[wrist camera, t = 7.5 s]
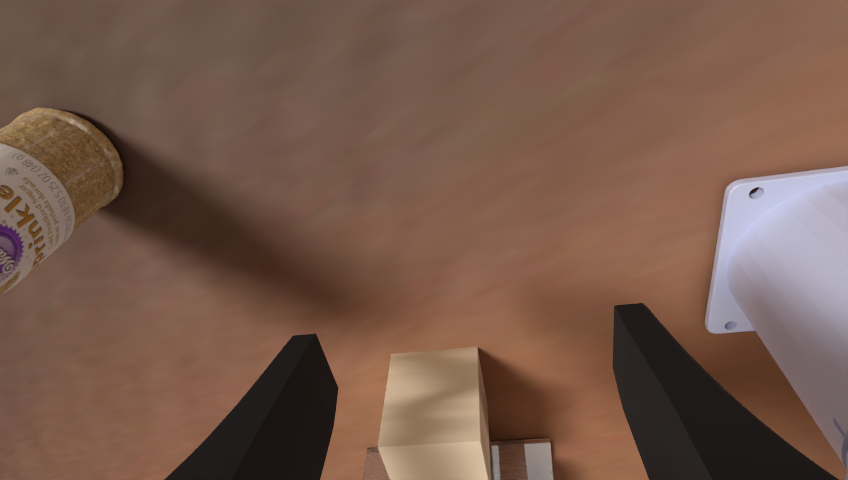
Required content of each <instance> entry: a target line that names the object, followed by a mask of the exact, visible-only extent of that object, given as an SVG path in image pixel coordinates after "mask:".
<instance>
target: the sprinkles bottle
mask: <svg viewBox="0 0 848 480" xmlns="http://www.w3.org/2000/svg"><path fill="white" fill-rule="evenodd" d="M122 185H123V170H122V162H121V160H120V158H119V154H118V152H117V151H116V149H115V148H114V146H113V144H112V143H111V142H110V141H109V139H108V138H107V137H106V136H105V135H104V134H103V133H102V132H101V131H100V130H98V129H97V128H96V127H95V126H94V125H93V124H91V123H90V122H88V121H87V120H85V119H82V118H80V117H78V116H77V115H75V114H72V113H70V112H66V111H63V110H57V109H53V108H35V109H33V110H31V111H27V112H25V113H23V114H21V115H20V116H18V117H17V118H16V119H15V120H14V121H13V122H12V123H11V124H9V125H8V126H5V127H3V128H1V129H0V295H1V294H3V293H5V292H6V291H8V290H10V289H11V288H12V287H13V286H15V285H16V284H17V283H18V282H19V281H21V280H22V279H23V278H24V277H25V276H26V275H27V274H28V273H30V272H31V271H32V270H33V269H34V268H35V267H37V266H38V265H39V264H40V263H41V262H42V261H43V260H45V259H46V258H47V257H48V256H49V255H50V254H51V253H53V252H54V251H55V250H56V249H57V248H58V247H59V246H60V245H61V244H63V243H64V242H65V241H66V240H67V239H68V238H69V236H70V235H71V233H72V232H73V231H74V230H75V229H76V228H77V227H79V226H80V225H81V224H82V223H83V222H84V221H86V220H87V219H88V218H89V217H90V216H92V215H93V214H94V213H95V212H96V211H97V210H98V209H99V208H100V207H104V206H106V205H108V204H109V203H110V202H111V201H112V200H114V199H115V198H116V197H117V196H118V194H119V192H120V190H121V188H122Z"/></svg>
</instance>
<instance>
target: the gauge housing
mask: <svg viewBox="0 0 848 480" xmlns="http://www.w3.org/2000/svg"><path fill="white" fill-rule="evenodd" d="M491 445H492V450H493V469H494V480H553V470H552V457H551V445H550V438H541V439H524V440H506V441H491ZM362 480H390V478H389V476H388V473H387V470H386V468H385V465H384V463H383V460H382V457H381V455H380V452H379V450H378V448H367V454H366V460H365V466H364V471H363V477H362Z"/></svg>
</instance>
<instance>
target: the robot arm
mask: <svg viewBox="0 0 848 480" xmlns="http://www.w3.org/2000/svg"><path fill="white" fill-rule="evenodd" d="M757 187H759V189H758V191H756V192H755V193H753V194H749V193H750V191H751V190H752V189H754V188H757ZM731 321H732V322H731ZM728 322H730V323H728ZM726 323H728V324H726ZM705 326H706V328H707V330H708V331H709V332H711V333H713V334H720V333H732V332H744V331H756V333H757V334H758V336H759V337H760V339H761V340H762V342H763V343H764V345H765V346H766V348H767V349H768V351H769V352H770V354H771V356H772V357H773V359H774V360H775V362H776V363H777V365H778V366H779V368H780V369H781V371H782V372H783V374H784V375H785V377H786V378H787V380H788V381H789V383H790V384H791V386H792V387H793V389H794V391H795V392H796V394H797V395H798V397H799V398H800V400H801V401H802V403H803V404H804V406H805V407H806V409H807V410H808V412H809V413H810V415H811V416H812V418H813V419H814V421H815V423H816V424H817V426H818V427H819V429H820V430H821V432H822V433H823V435H824V436H825V438H826V439H827V441H828V442H829V444H830V445H831V447H832V448H833V450H834V451H835V453H836V454H837V456H838V458H839V459H840V461H841V462H842V464H843V465H844V467H845V468H846V470H847V474H846V477H845V478H844V480H848V166H844V167H836V168H828V169H820V170H812V171H804V172H796V173H788V174H780V175H772V176H764V177H756V178H748V179H740V180H737V181H734V182H732V183H731V184H730V185H729V186H728V187H727V188H726V191H725V195H724V201H723V207H722V214H721V220H720V227H719V233H718V240H717V246H716V253H715V259H714V266H713V272H712V279H711V285H710V291H709V298H708V304H707V311H706V317H705ZM613 370H614V374H615V378H616V382H617V387H618V391H619V395H620V399H621V403H622V406H623V410H624V413H625V415H626V418H627V421H628V424H629V426H630V429H631V432H632V434H633V437H634V440H635V443H636V445H637V448H638V451H639V453H640V456H641V459H642V461H643V464H644V467H645V469H646V472H647V475H648V477H649V480H839V479H837V478H836V477H834V476H833V475H831V474H830V473H828V472H827V471H825V470H824V469H822V468H821V467H820V466H818V465H817V464H815V463H814V462H813V461H811V460H810V459H809V458H807V457H806V456H805V455H803V454H802V453H801V452H799V451H798V450H797V449H795V448H794V447H793V446H791V445H790V444H789V443H787V442H786V441H785V440H784V439H782V438H781V437H780V436H779V435H777V434H776V433H775V432H774V431H772V430H771V429H770V428H769V427H767V426H766V425H765V424H764V423H762V422H761V421H760V420H759V419H758V418H757V417H755V416H754V415H753V414H752V413H751V412H750V411H748V410H747V409H746V408H745V407H744V406H743V405H742V404H740V403H739V402H738V401H737V400H736V399H735V398H734V397H733V396H732V395H730V394H729V393H728V392H727V391H726V390H725V389H724V388H723V387H722V386H721V385H720V384H719V383H718V382H716V381H715V380H714V379H713V378H712V377H711V376H710V375H709V374H708V373H707V372H706V371H705V370H704V369H703V368H702V367H701V366H700V365H699V364H698V363H697V362H696V361H695V360H694V359H693V358H692V357H691V356H690V355H689V354H688V353H687V351H686V350H685V349H684V348H683V347H682V346H681V345H680V344H679V343H678V342H677V341H676V340H675V339H674V337H673V336H672V335H671V334H670V333H669V332H668V331H667V330H666V329H665V327H664V326H663V325H662V324H661V323H660V322H659V321H658V319H657V318H656V317H655V316H654V315H653V313H652V312H651V311H650V310H649V309H648V307H647V306H645V305H644V304H643V303H639V304H628V305H617V306H614V341H613ZM337 394H338V386H337V384H336V382H335V379H334V377H333V374H332V372H331V369H330V367H329V364H328V362H327V360H326V357H325V355H324V352H323V350H322V347H321V345H320V342H319V340H318V338H317V335H316V334H307V335H296V336H292V338H291V339H290V340H289V341H288V342H287V344H286V345H285V346H284V347H283V349H282V350H281V351H280V352H279V354H278V355H277V356H276V357H275V359H274V360H273V361H272V362H271V364H270V365H269V366H268V367H267V369H266V370H265V371H264V372H263V374H262V375H261V376H260V377H259V379H258V380H257V381H256V382H255V384H254V385H253V386H252V387H251V388H250V390H249V391H248V392H247V393H246V394H245V396H244V397H243V398H242V399H241V400H240V402H239V403H238V404H237V405H236V406H235V407H234V409H233V410H232V411H231V412H230V413H229V414H228V415H227V416H226V418H225V419H224V420H223V421H222V422H221V423H220V424H219V425H218V426H217V428H216V429H215V430H214V431H213V432H212V433H211V434H210V435H209V436H208V438H207V439H206V440H205V441H204V442H203V443H202V444H201V445H200V446H199V447H198V448H197V449H196V450H195V451H194V452H193V453H192V454H191V455H190V456H189V457H188V458H187V459H186V460H185V461H184V462H183V463H182V464H180V465H179V466H178V467H177V468H176V469H175V470H174V471H173V472H172V473H171V474H170V475H169V476H168V477H167V478H166V479H165V480H320V477H321V474H322V470H323V466H324V462H325V458H326V454H327V450H328V446H329V443H330V439H331V435H332V430H333V426H334V419H335V412H336V403H337Z"/></svg>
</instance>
